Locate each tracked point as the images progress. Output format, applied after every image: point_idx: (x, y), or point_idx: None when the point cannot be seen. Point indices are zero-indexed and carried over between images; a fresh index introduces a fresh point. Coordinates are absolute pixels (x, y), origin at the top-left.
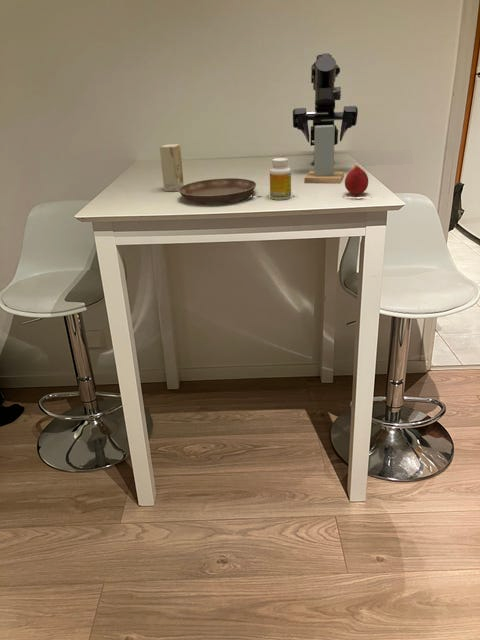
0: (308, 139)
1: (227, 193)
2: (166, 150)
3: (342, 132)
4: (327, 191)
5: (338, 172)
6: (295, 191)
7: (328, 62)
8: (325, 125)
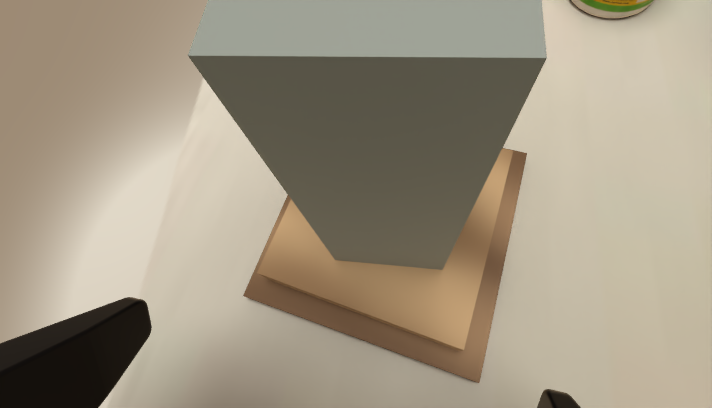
0: (562, 392)
1: None
2: None
3: (32, 338)
4: None
5: (298, 246)
6: (548, 72)
7: None
8: (326, 24)
